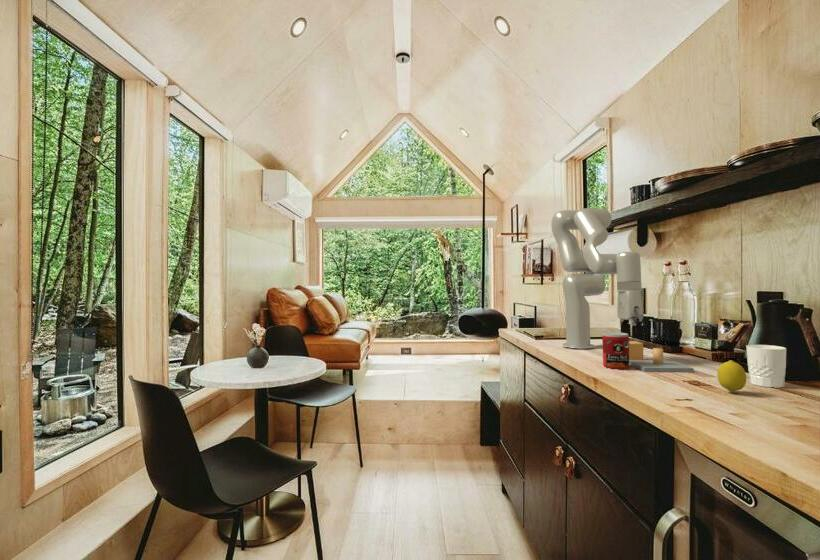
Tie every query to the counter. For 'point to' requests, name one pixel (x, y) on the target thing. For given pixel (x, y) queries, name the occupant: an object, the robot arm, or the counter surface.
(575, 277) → the robot arm
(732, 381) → the lemon
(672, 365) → the stub board
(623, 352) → the canned food
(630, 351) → the tan block
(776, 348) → the white cup
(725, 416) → the counter surface
